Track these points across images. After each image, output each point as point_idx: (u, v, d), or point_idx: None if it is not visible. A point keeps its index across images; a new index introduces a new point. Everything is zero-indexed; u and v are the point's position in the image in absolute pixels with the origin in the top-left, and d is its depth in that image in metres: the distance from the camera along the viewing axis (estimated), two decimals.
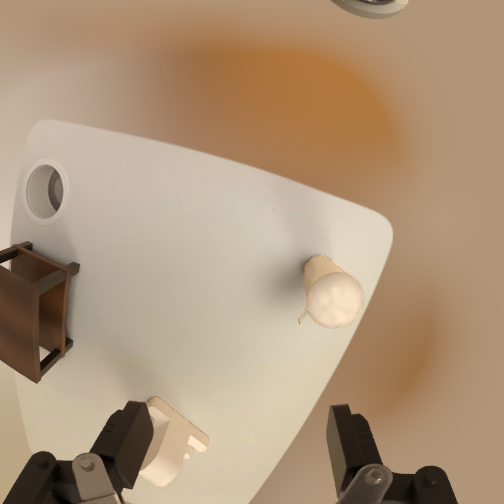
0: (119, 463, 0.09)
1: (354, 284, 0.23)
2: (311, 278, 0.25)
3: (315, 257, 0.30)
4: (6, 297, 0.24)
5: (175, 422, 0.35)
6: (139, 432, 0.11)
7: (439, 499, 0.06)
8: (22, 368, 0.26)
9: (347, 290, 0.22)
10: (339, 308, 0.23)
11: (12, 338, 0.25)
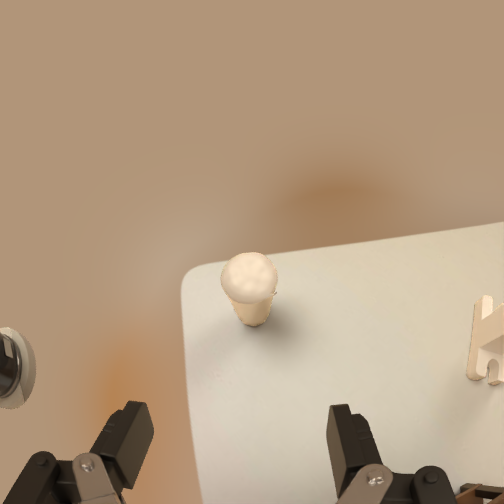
0: (119, 463, 0.09)
1: (225, 270, 0.25)
2: (245, 309, 0.26)
3: (241, 320, 0.31)
4: None
5: (478, 341, 0.27)
6: (139, 432, 0.11)
7: (439, 499, 0.06)
8: None
9: (231, 272, 0.25)
10: (249, 269, 0.25)
11: None
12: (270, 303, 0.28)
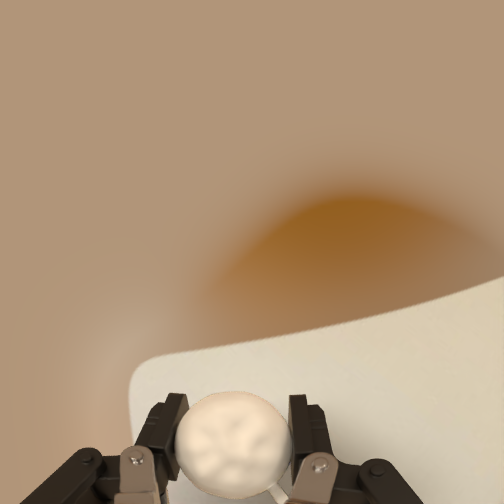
0: (167, 454, 0.10)
1: (181, 434, 0.10)
2: None
3: None
4: None
5: None
6: None
7: (392, 489, 0.07)
8: None
9: (193, 447, 0.10)
10: (233, 442, 0.10)
11: None
12: None
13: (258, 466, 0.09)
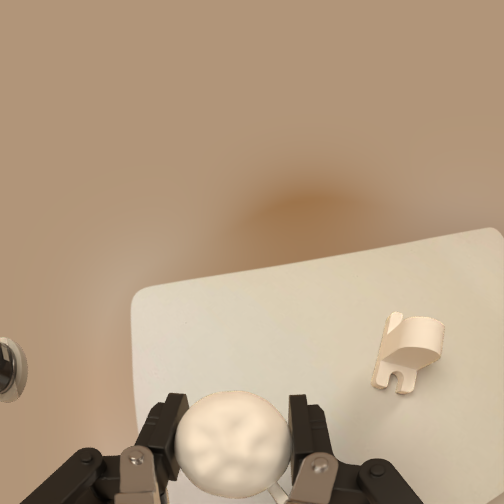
0: (167, 454, 0.10)
1: (181, 433, 0.10)
2: None
3: None
4: None
5: (381, 354, 0.35)
6: None
7: (392, 489, 0.07)
8: None
9: (193, 446, 0.10)
10: (232, 441, 0.10)
11: None
12: None
13: (258, 465, 0.09)
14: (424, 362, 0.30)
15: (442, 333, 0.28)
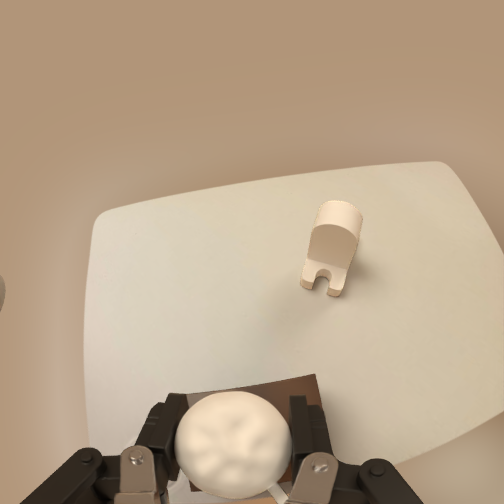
0: (167, 454, 0.10)
1: (181, 433, 0.10)
2: None
3: None
4: None
5: None
6: None
7: (392, 489, 0.07)
8: (307, 399, 0.24)
9: (193, 447, 0.10)
10: (232, 442, 0.10)
11: None
12: None
13: (258, 466, 0.09)
14: (346, 253, 0.35)
15: (357, 217, 0.33)
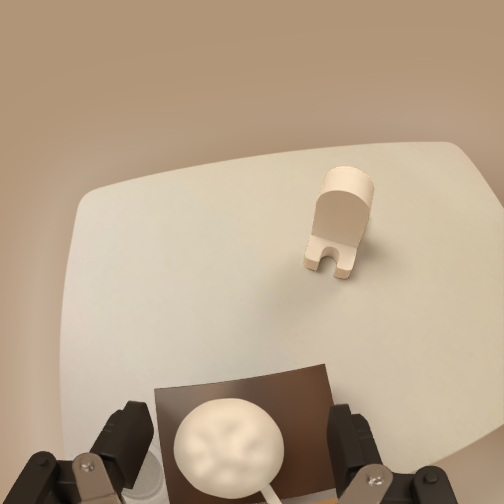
0: (119, 463, 0.09)
1: (180, 437, 0.11)
2: None
3: None
4: None
5: None
6: (139, 432, 0.11)
7: (439, 499, 0.06)
8: (315, 395, 0.19)
9: (191, 450, 0.10)
10: (227, 446, 0.10)
11: None
12: None
13: (251, 468, 0.10)
14: (356, 226, 0.30)
15: (368, 184, 0.28)
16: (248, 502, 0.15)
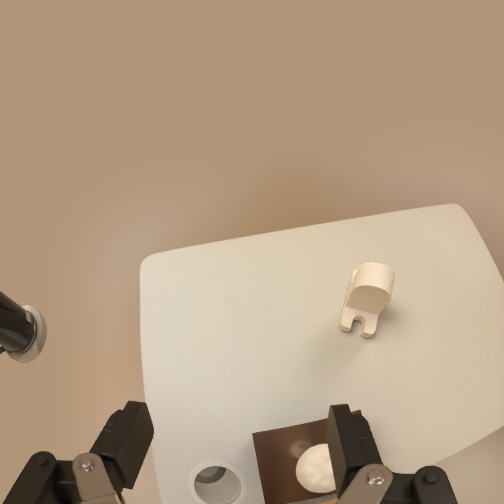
0: (119, 463, 0.09)
1: (301, 466, 0.21)
2: None
3: None
4: (282, 462, 0.28)
5: (345, 301, 0.45)
6: (139, 432, 0.11)
7: (439, 499, 0.06)
8: None
9: (309, 472, 0.20)
10: (326, 467, 0.20)
11: None
12: None
13: None
14: (379, 304, 0.40)
15: (391, 276, 0.38)
16: (315, 496, 0.25)
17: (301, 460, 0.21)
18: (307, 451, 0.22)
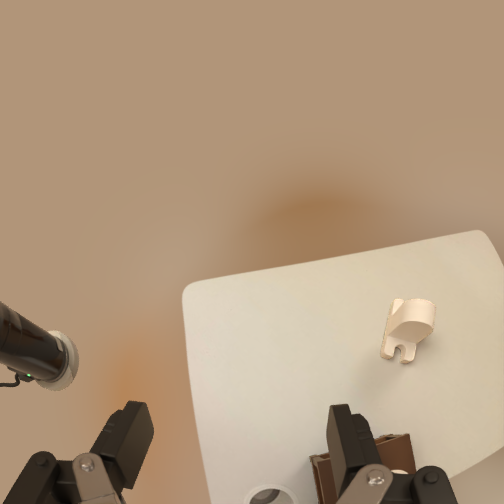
0: (119, 463, 0.09)
1: None
2: None
3: None
4: None
5: (388, 331, 0.45)
6: (139, 432, 0.11)
7: (439, 499, 0.06)
8: (404, 450, 0.29)
9: None
10: None
11: None
12: None
13: None
14: (421, 335, 0.40)
15: (434, 311, 0.38)
16: None
17: None
18: None
